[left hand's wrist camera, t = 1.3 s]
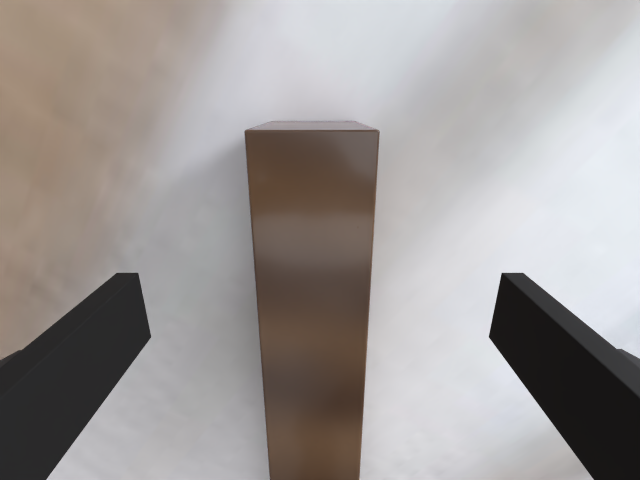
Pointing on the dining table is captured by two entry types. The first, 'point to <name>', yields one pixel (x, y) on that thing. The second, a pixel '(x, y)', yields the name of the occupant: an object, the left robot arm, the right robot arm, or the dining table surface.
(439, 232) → the dining table surface
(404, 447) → the dining table surface
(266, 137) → the bar
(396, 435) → the dining table surface
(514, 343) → the left robot arm
